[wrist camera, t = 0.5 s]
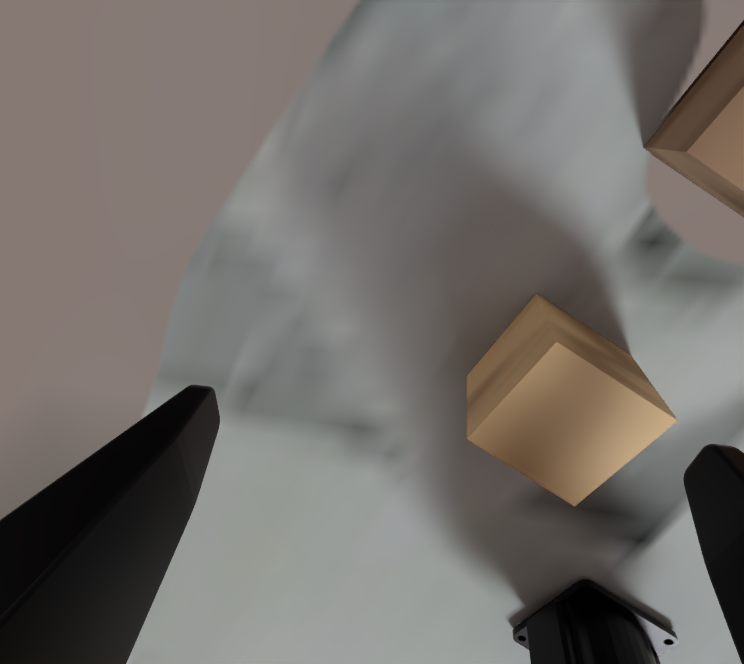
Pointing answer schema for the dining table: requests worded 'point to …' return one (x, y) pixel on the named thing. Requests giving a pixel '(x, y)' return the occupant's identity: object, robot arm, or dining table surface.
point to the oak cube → (561, 403)
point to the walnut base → (710, 128)
